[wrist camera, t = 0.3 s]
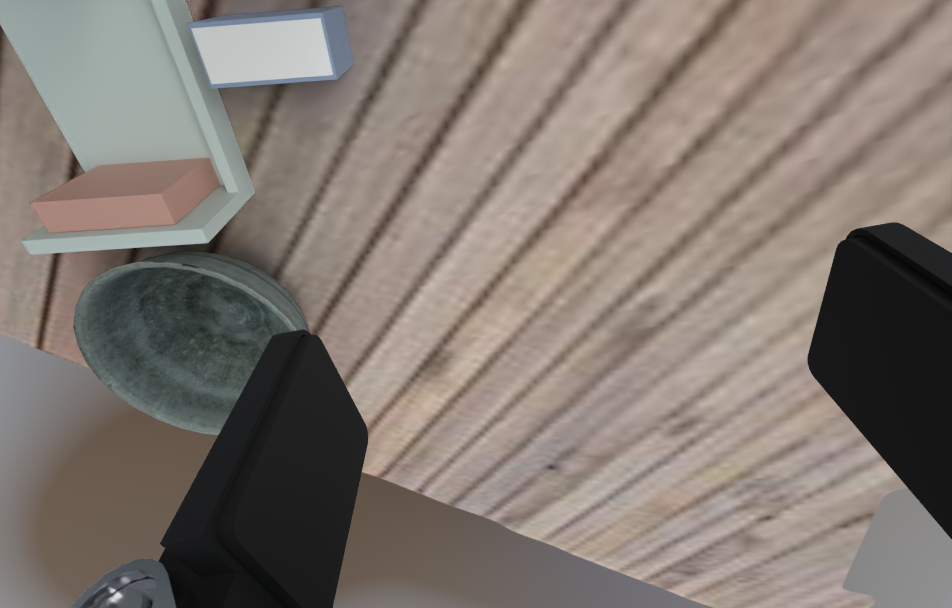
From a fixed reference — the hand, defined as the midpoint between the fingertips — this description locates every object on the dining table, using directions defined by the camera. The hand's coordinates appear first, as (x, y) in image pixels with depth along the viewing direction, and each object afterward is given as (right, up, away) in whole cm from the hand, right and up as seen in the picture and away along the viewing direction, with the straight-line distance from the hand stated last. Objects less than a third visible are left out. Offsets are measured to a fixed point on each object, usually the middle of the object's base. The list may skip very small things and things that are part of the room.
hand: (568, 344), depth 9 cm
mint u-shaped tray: (-30, +20, +28) cm, 46 cm away
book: (-16, +21, +28) cm, 39 cm away
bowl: (-28, +1, +42) cm, 51 cm away
